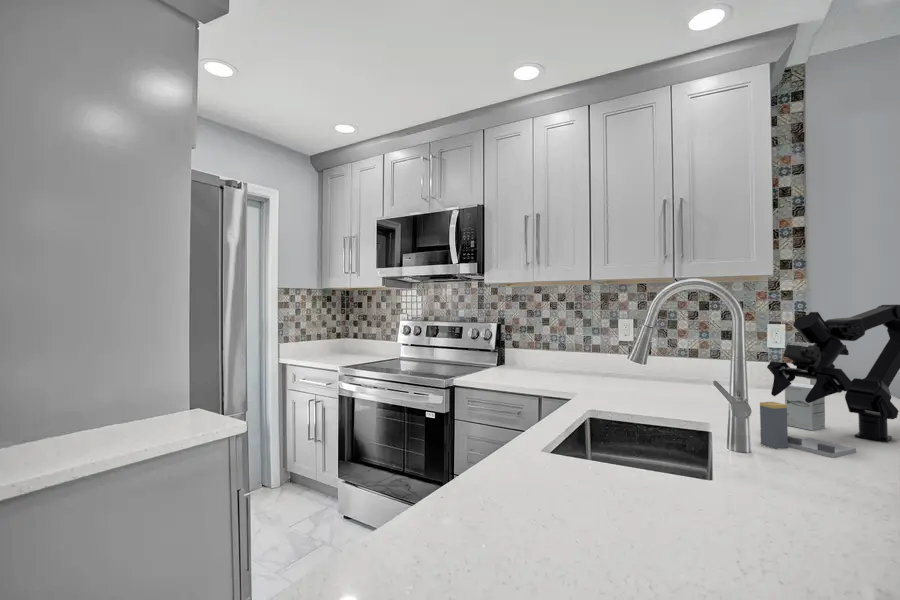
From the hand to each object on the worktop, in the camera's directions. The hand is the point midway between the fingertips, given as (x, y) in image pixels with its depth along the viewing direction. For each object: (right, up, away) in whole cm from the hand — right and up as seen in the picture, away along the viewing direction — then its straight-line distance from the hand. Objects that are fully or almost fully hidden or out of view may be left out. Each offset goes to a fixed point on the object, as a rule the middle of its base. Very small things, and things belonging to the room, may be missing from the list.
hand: (789, 398), depth 115 cm
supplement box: (+18, -13, +17) cm, 28 cm away
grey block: (-5, -12, -1) cm, 13 cm away
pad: (+5, -12, -4) cm, 13 cm away
